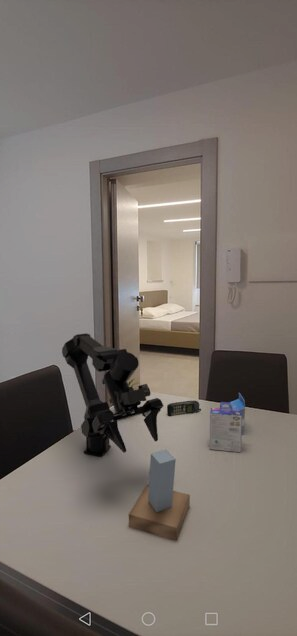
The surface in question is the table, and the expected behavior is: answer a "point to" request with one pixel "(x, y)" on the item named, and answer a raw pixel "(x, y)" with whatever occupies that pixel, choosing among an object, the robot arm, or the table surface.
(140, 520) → the walnut block
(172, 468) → the slate block
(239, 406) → the label tape box
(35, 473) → the table surface
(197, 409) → the mobile phone
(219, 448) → the ink cartridge box
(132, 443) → the table surface
